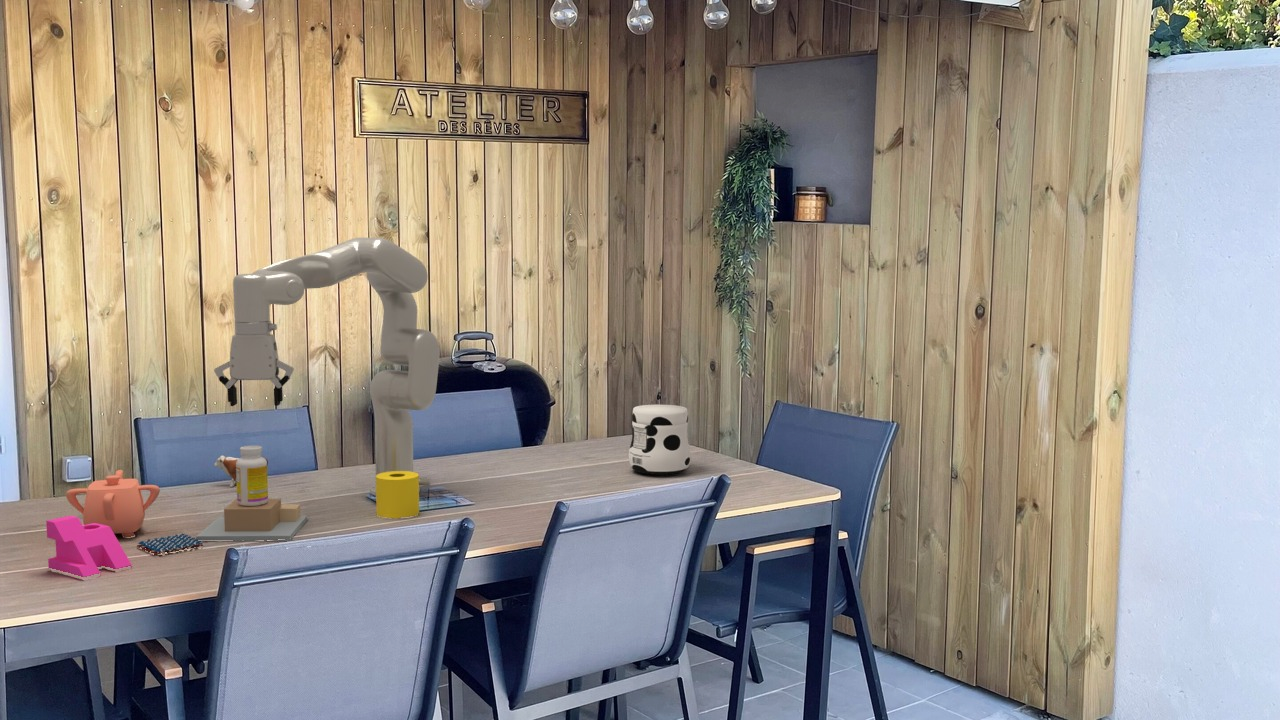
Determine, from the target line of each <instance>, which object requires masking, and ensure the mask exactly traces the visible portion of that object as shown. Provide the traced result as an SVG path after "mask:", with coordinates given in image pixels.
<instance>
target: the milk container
mask: <svg viewBox="0 0 1280 720" xmlns="http://www.w3.org/2000/svg"><path fill="white" fill-rule="evenodd" d="M631 419H632V421H631V422H632V423H631V429H632V430H631V434H632V435H631V436H632V437H631V442H630V446H629V450H628V461H629V465H630V468H631V469H632V470H633V471H635V472H638V473H641V474H646V475H654V476H655V475H657V476H659V475H661V476H662V475H664V476H665V475H666V476H667V475H674V474H679V473H682V472H685V471H686V470H688V468H689V466H690V463H691V459H692V458H691V457H692V456H691V455H692V454H691V453H692V452H691V447H690V445H689V441H688V437H689V436H688V433H689V432H688V431H689V428H688V427H689V423H688V421H689V412H688V408H687V407H685V406H682V405H675V404H657V403H656V404H643V405H637V406H634V407H633V408H632V417H631Z"/></svg>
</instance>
